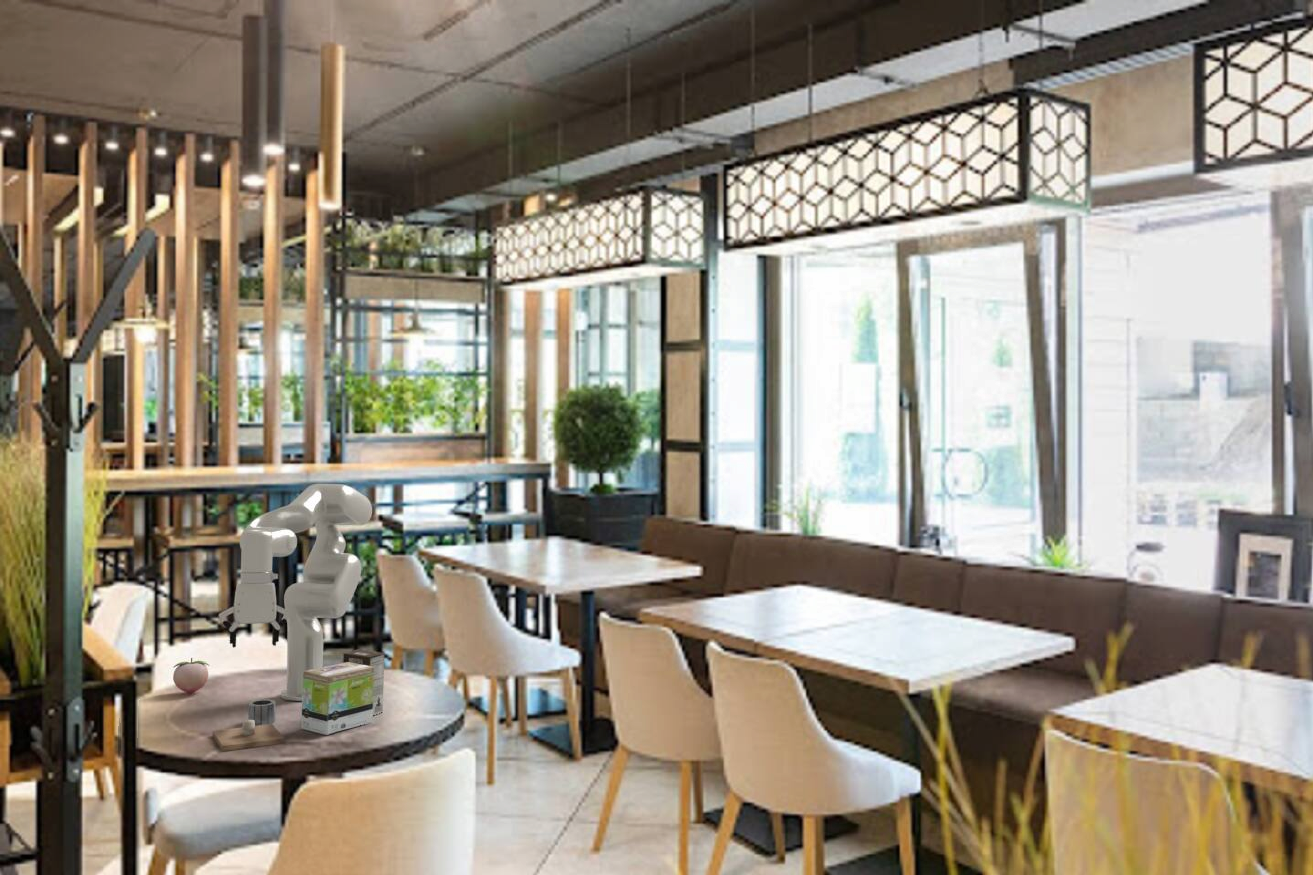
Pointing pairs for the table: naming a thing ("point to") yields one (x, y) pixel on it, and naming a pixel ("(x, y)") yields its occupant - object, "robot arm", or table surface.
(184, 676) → the decorative fruit
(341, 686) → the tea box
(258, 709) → the grey hollow cylinder
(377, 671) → the coffee box
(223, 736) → the shaft base
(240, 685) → the table surface
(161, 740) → the table surface
